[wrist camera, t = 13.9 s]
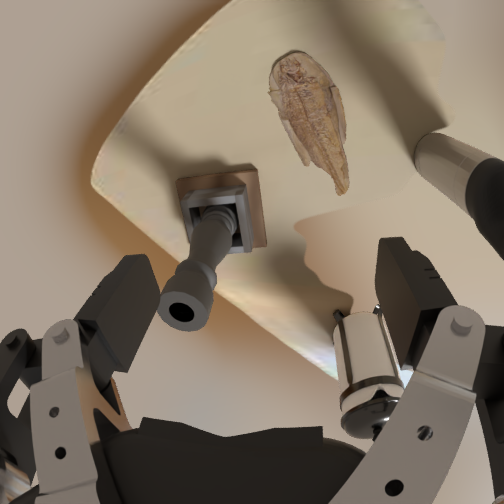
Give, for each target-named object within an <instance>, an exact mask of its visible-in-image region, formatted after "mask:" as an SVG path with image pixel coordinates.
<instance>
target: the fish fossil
mask: <svg viewBox="0 0 504 504" xmlns="http://www.w3.org/2000/svg"><path fill="white" fill-rule="evenodd" d="M269 85H270V88H269V89H270V92H268V94H269V95H270V96H271V98H272V100H271V101H272V102H273V103H274V104H275V105H276V107H277V108H278V111H279V112H278V113H279V117H280V119H281V121H282V125H283V126H284V128H285V131H286V132H287V133H288V136H289V138H290V140H291V142H292V143H293V145H294V147H295V150H296V151H297V153H298V155H299V157H300V158H301V160H302V163H303V164H304V166H309V164H310V161H312V162H314V164H315V165H316V166H317V167H319V168H322V169H323V170H324V171H326V172H327V173H328V174H330V175H331V177H332V178H333V180H334V183H335V187H336V188H335V190H336V193H337V195H339V196H341V195H342V194H345V193H346V191H347V190H348V188H349V176H348V164H347V160H346V155H345V152H344V149H343V146H342V145H343V144H345V141H346V121H345V115H344V109H343V105H342V102H341V100H342V99H341V96H340V93H339V90H338V88H337V87H336V86H335V85H334V83H333V81H332V80H331V78H330V76H329V74H328V73H327V72H326V71H325V70H324V69H323V68H322V67H321V65H319V64H318V63H317V62H315V61H314V60H313V59H312V57H309V56H308V54H306V53H301V52H294V53H292V54H289V55H287V56H286V57H284V58H283V59H281V60H280V61H278V62H277V63H276V64H275V66H274V68H273V69H272V71H271V74H270V81H269Z"/></svg>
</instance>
